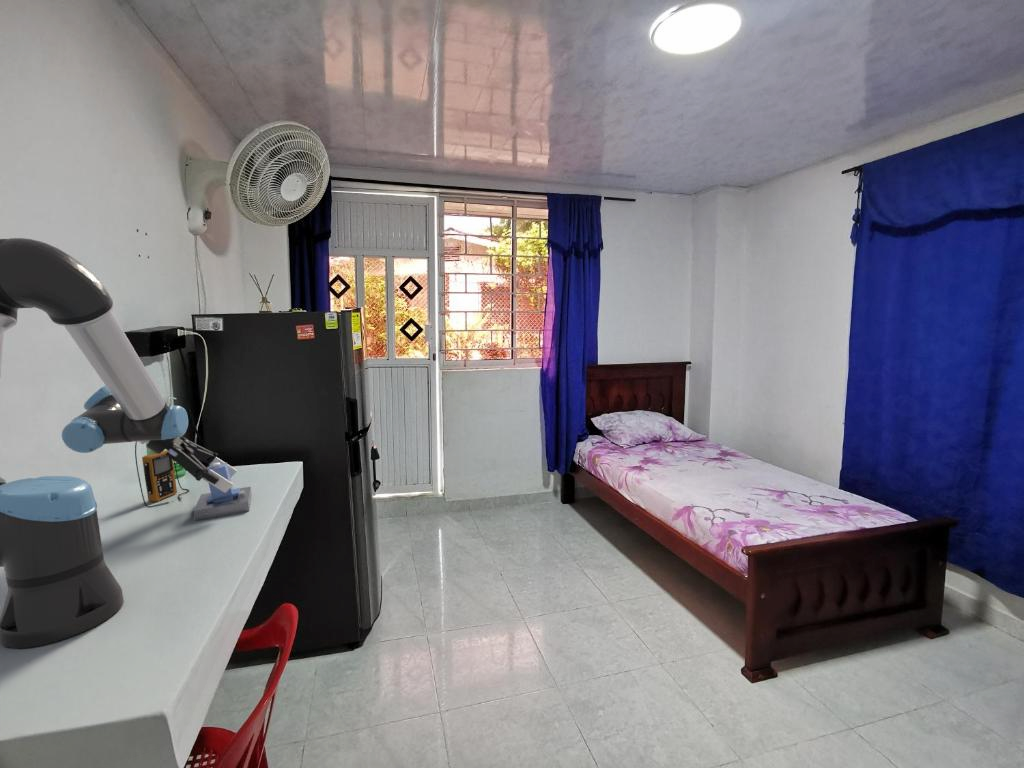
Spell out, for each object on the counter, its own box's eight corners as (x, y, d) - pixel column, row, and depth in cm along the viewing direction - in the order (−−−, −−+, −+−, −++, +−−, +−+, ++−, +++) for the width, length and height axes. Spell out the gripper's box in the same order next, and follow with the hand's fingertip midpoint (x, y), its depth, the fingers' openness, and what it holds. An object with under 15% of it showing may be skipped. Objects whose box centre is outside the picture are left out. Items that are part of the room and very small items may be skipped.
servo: (241, 504, 132) (230, 461, 130) (209, 512, 129) (197, 469, 127) (242, 499, 136) (232, 458, 134) (211, 507, 133) (200, 465, 131)
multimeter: (168, 507, 133) (158, 435, 131) (136, 507, 135) (125, 435, 133) (209, 489, 148) (201, 423, 145) (179, 489, 149) (171, 424, 147)
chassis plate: (249, 510, 128) (247, 498, 128) (194, 520, 123) (193, 507, 123) (251, 495, 141) (250, 483, 140) (202, 503, 136) (200, 491, 135)
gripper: (155, 436, 134) (225, 480, 143) (131, 456, 112) (216, 507, 120) (176, 414, 136) (244, 459, 144) (156, 430, 114) (238, 482, 122)
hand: (231, 481), depth 132 cm, fingers open, 13 cm apart
